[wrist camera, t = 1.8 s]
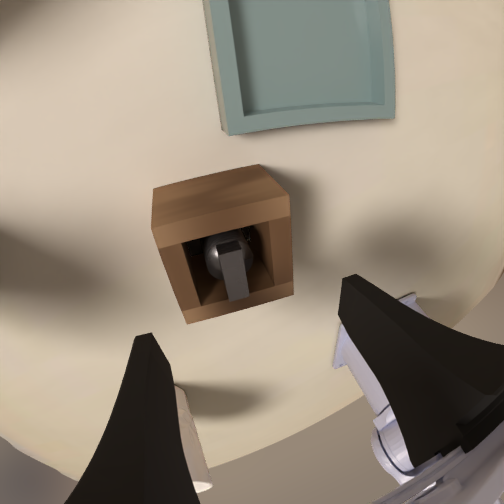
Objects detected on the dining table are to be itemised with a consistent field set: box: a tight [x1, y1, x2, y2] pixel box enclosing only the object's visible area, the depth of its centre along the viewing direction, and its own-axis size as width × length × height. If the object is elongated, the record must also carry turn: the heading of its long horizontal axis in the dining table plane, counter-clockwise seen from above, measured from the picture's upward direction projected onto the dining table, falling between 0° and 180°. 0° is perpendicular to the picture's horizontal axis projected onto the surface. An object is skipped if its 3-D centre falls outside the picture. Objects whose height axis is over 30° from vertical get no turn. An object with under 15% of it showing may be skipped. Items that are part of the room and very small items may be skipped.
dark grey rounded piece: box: [200, 228, 253, 302], centre depth 15 cm, size 2×3×5 cm
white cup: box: [174, 385, 213, 493], centre depth 21 cm, size 8×8×10 cm
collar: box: [151, 164, 294, 324], centre depth 15 cm, size 6×6×4 cm
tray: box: [203, 0, 395, 136], centre depth 11 cm, size 10×10×2 cm
